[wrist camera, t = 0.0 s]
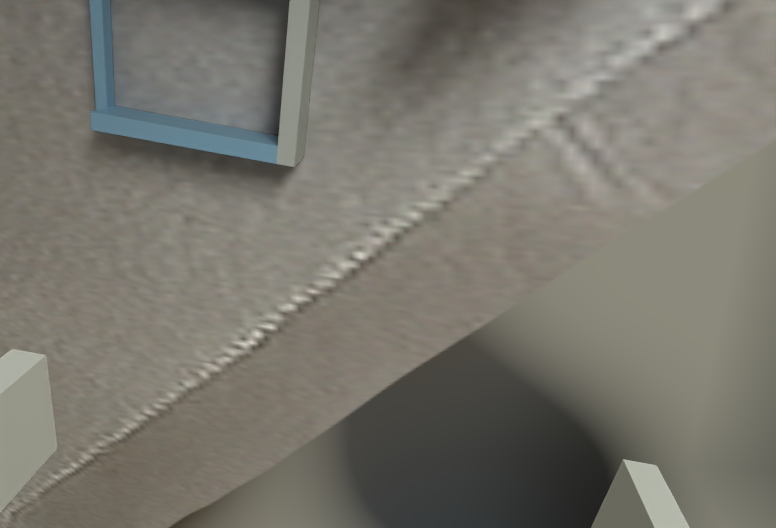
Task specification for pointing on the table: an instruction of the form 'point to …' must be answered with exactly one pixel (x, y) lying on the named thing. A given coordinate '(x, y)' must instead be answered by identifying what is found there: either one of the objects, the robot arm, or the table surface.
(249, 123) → the table surface
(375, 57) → the table surface
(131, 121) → the grey frame
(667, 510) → the robot arm
